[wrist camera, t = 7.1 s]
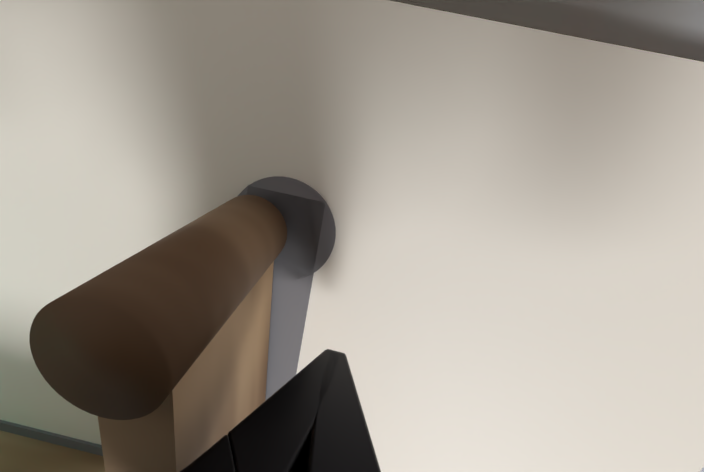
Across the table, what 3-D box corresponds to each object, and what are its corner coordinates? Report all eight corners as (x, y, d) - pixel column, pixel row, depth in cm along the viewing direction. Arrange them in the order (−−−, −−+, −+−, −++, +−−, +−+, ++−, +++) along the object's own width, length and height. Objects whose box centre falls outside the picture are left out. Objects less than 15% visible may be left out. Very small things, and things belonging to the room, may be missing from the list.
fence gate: (268, 492, 12) (188, 734, 8) (216, 481, 12) (105, 713, 8) (289, 200, 9) (166, 311, 4) (217, 189, 9) (17, 284, 4)
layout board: (-19, 543, 17) (-33, 558, 16) (-179, -105, 9) (-220, -121, 8) (523, 687, 16) (528, 708, 15) (929, 112, 8) (971, 112, 7)
